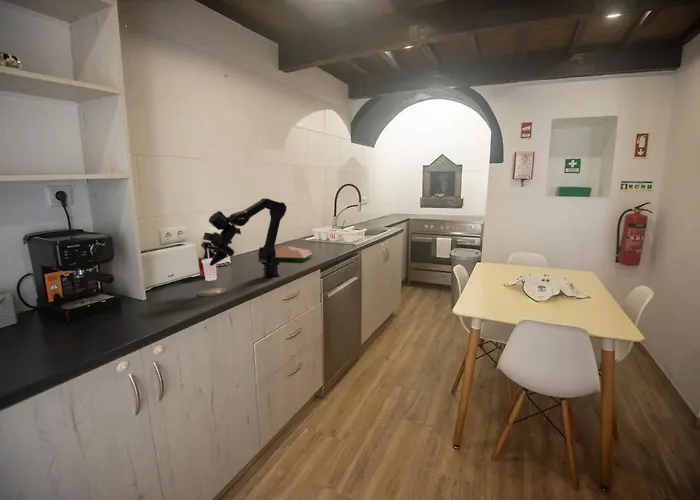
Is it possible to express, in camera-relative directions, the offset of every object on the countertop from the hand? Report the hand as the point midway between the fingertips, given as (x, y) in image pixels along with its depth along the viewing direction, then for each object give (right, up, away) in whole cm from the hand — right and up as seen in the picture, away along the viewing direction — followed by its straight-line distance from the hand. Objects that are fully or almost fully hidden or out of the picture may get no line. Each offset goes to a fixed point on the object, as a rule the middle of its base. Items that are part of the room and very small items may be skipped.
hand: (206, 264), depth 158 cm
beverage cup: (+1, -7, +2) cm, 7 cm away
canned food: (-13, -8, +34) cm, 37 cm away
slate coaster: (+1, -13, +3) cm, 13 cm away
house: (+23, +1, +75) cm, 79 cm away
